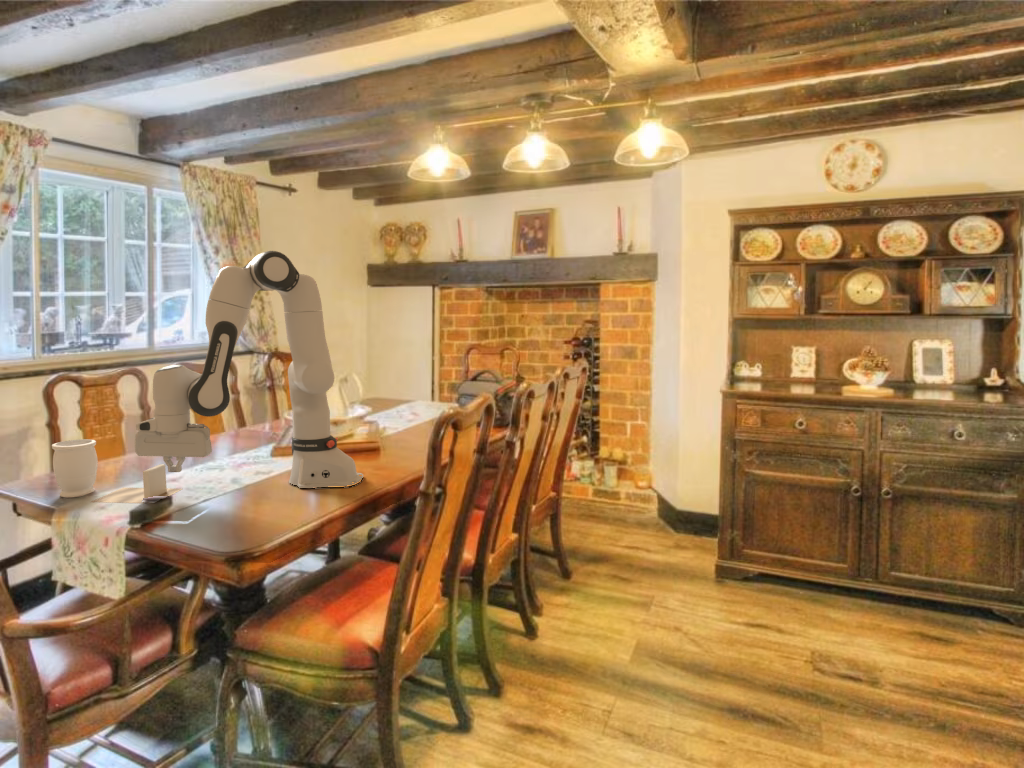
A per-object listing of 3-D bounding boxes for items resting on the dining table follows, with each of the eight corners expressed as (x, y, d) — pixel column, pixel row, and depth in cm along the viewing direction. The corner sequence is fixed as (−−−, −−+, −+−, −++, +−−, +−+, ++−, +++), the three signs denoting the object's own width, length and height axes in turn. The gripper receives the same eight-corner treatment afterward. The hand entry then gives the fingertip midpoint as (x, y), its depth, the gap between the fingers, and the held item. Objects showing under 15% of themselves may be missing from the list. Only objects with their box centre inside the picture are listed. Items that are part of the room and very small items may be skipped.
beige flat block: (166, 491, 180) (165, 464, 179) (150, 499, 172) (148, 471, 171) (160, 491, 180) (159, 464, 179) (143, 499, 172) (142, 471, 171)
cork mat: (183, 490, 183) (183, 488, 183) (155, 505, 169) (154, 503, 169) (123, 489, 184) (123, 487, 184) (90, 504, 170) (89, 502, 170)
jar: (73, 488, 184) (70, 438, 183) (107, 488, 184) (104, 439, 182) (45, 499, 174) (41, 446, 172) (82, 499, 173) (78, 447, 172)
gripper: (215, 422, 177) (217, 469, 178) (144, 420, 177) (146, 468, 179) (203, 426, 170) (205, 475, 172) (129, 424, 171) (132, 473, 172)
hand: (175, 471), depth 175 cm, fingers closed
